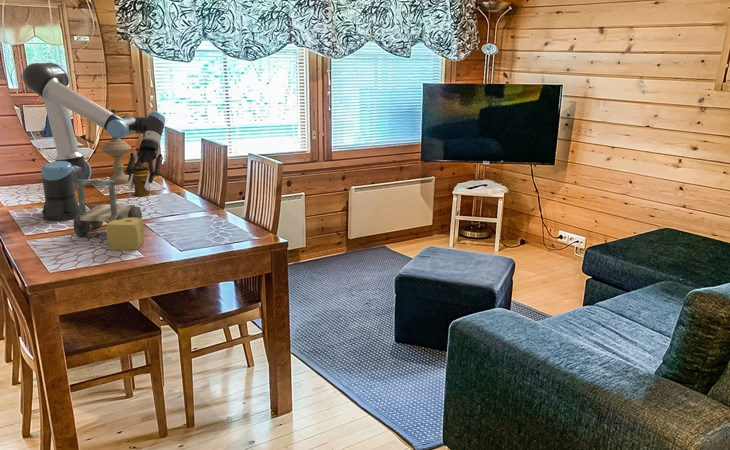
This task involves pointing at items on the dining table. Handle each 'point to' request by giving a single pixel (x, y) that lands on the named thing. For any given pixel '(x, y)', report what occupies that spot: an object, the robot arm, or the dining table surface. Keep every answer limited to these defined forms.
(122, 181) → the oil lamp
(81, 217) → the trolley
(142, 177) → the condiment
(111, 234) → the cheese
